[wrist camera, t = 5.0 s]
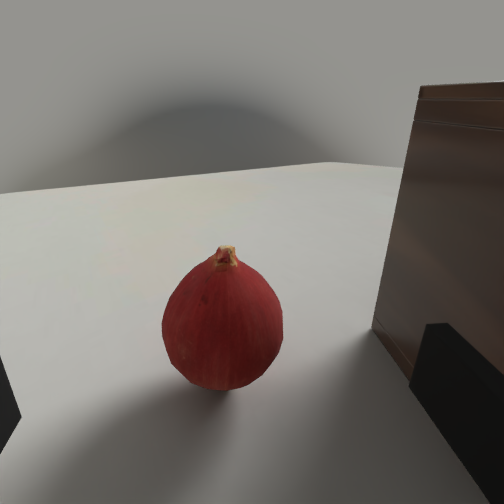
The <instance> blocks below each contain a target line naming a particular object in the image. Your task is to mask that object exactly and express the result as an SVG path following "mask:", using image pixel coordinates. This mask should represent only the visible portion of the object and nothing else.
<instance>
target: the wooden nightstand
mask: <svg viewBox="0 0 504 504" xmlns="http://www.w3.org/2000/svg"><path fill="white" fill-rule="evenodd" d="M418 98H419V99H418V101H417V105H416V110H415V115H414V121H413V125H412V130H411V135H410V140H409V145H408V150H407V154H406V159H405V164H404V169H403V174H402V179H401V184H400V189H399V194H398V199H397V203H396V208H395V213H394V218H393V223H392V228H391V233H390V238H389V243H388V248H387V253H386V257H385V262H384V267H383V272H382V277H381V282H380V287H379V292H378V297H377V302H376V307H375V311H374V316H373V321H372V326H371V328H372V329H373V330H374V332H375V333H376V335H377V336H378V337H379V339H380V340H381V342H382V343H383V345H384V346H385V347H386V349H387V350H388V352H389V353H390V354H391V356H392V357H393V359H394V360H395V361H396V363H397V364H398V366H399V367H400V368H401V370H402V371H403V373H404V374H405V376H406V377H407V378H408V380H409V381H410V380H411V376H412V372H413V369H414V365H415V362H416V358H417V355H418V351H419V348H420V344H421V341H422V337H423V333H424V330H425V326H426V324H433V323H448V324H450V325H451V326H452V327H453V328H454V329H455V330H456V331H457V332H458V333H459V334H460V335H461V336H462V337H463V338H465V339H466V340H467V341H468V342H469V343H470V344H471V345H472V346H473V347H474V348H475V349H476V350H477V351H478V352H480V353H481V354H482V355H483V356H484V357H485V358H486V359H487V360H488V361H489V362H490V363H491V364H492V365H493V366H495V367H496V368H497V369H498V370H499V371H500V372H501V373H502V374H503V375H504V81H495V82H494V81H493V82H476V83H459V84H442V85H426V86H425V85H424V86H420V91H419V95H418Z"/></svg>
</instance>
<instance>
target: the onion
mask: <svg viewBox="0 0 504 504" xmlns="http://www.w3.org/2000/svg"><path fill="white" fill-rule="evenodd" d="M162 337H163V340H164V344H165V347H166V351H167V354H168V356H169V359H170V361H171V364H172V365H173V366H174V367H175V368H176V369H177V370H178V371H179V372H180V373H181V374H182V375H183V376H184V377H185V378H186V379H187V380H189V381H190V382H191V383H193V384H195V385H198V386H201V387H203V388H206V389H211V390H223V391H228V390H232V389H237V388H241V387H244V386H246V385H248V384H250V383H251V382H253V381H254V380H256V379H257V378H259V377H260V376H261V375H263V373H264V372H265V371H266V370H267V369H268V367H269V366H270V365H271V363H272V362H273V360H274V359H275V358H276V356H277V355H278V353H279V350H280V347H281V344H282V341H283V316H282V309H281V305H280V302H279V300H278V298H277V296H276V294H275V292H274V291H273V289H272V288H271V287H270V285H269V284H268V283H267V281H266V280H265V279H264V278H263V276H262V275H260V274H259V273H258V272H257V271H256V270H254V269H253V268H251V267H250V266H248V265H246V264H245V263H243V262H241V261H239V260H238V258H237V257H236V255H235V247H233V246H220V247H219V248H218V249H217V252H216V253H215V254H214V255H212V256H211V257H209V258H208V259H207V260H206V261H204V262H202V263H200V264H199V265H197V266H196V267H194V268H193V269H192V270H191V271H190V272H189V273H188V274H187V275H186V276H185V277H184V278H183V279H182V281H181V282H180V283H179V285H178V286H177V288H176V289H175V290H174V292H173V293H172V295H171V296H170V298H169V301H168V303H167V306H166V309H165V311H164V315H163V320H162Z"/></svg>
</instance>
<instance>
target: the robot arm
mask: <svg viewBox="0 0 504 504" xmlns="http://www.w3.org/2000/svg"><path fill="white" fill-rule="evenodd" d="M409 388H410V389H411V391H412V392H413V394H414V395H415V396H416V398H417V399H418V401H419V402H420V404H421V405H422V406H423V408H424V409H425V411H426V412H427V414H428V415H429V416H430V418H431V419H432V421H433V422H434V424H435V425H436V426H437V428H438V429H439V431H440V432H441V434H442V435H443V436H444V438H445V439H446V441H447V442H448V444H449V445H450V446H451V448H452V449H453V451H454V452H455V454H456V455H457V456H458V458H459V459H460V461H461V462H462V464H463V465H464V466H465V468H466V469H467V471H468V472H469V474H470V475H471V476H472V478H473V479H474V481H475V482H476V484H477V485H478V487H479V488H480V489H481V491H482V492H483V494H484V495H485V497H486V498H487V499H488V501H489V502H490V504H504V375H503V374H502V373H501V372H500V371H499V370H498V369H497V368H496V367H495V366H493V365H492V364H491V363H490V362H489V361H488V360H487V359H486V358H485V357H484V356H483V355H482V354H481V353H480V352H478V351H477V350H476V349H475V348H474V347H473V346H472V345H471V344H470V343H469V342H468V341H467V340H466V339H465V338H463V337H462V336H461V335H460V334H459V333H458V332H457V331H456V330H455V329H454V328H453V327H452V326H451V325H450V324H448V323H433V324H426V326H425V330H424V333H423V337H422V341H421V344H420V348H419V351H418V355H417V358H416V362H415V365H414V369H413V372H412V376H411V380H410V383H409ZM20 419H21V414H20V411H19V408H18V405H17V402H16V400H15V397H14V394H13V391H12V388H11V386H10V383H9V380H8V377H7V374H6V371H5V369H4V366H3V363H2V360H1V357H0V454H1V452H2V450H3V448H4V447H5V445H6V443H7V442H8V440H9V438H10V436H11V435H12V433H13V431H14V429H15V428H16V426H17V424H18V423H19V421H20Z"/></svg>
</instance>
